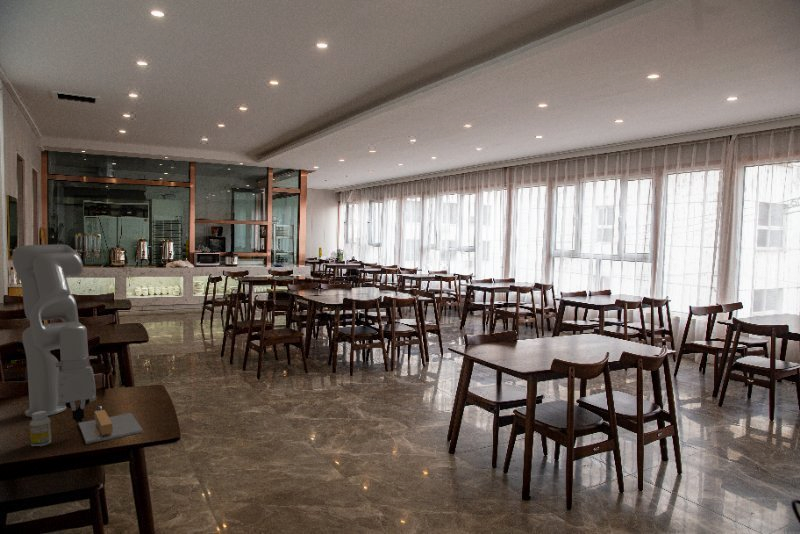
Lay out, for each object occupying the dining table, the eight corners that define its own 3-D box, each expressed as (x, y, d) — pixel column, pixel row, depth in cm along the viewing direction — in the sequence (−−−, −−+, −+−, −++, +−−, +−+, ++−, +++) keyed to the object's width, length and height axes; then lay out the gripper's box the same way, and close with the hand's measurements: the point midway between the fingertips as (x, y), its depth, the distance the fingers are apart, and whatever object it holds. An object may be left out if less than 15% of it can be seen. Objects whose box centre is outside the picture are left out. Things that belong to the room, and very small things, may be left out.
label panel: (78, 425, 182) (77, 409, 181) (131, 415, 191) (130, 399, 191) (86, 444, 166) (85, 426, 165) (143, 432, 175) (142, 415, 175)
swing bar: (94, 420, 182) (94, 411, 182) (104, 418, 184) (104, 409, 184) (102, 435, 169) (101, 425, 169) (112, 432, 171) (112, 423, 171)
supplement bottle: (44, 447, 164) (42, 416, 163) (26, 447, 164) (24, 416, 163) (55, 440, 169) (53, 410, 168) (38, 440, 169) (36, 410, 169)
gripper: (47, 370, 164) (51, 429, 165) (103, 362, 173) (106, 419, 174) (46, 365, 170) (49, 423, 171) (100, 358, 179) (103, 413, 180)
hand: (78, 421), depth 172 cm, fingers closed
